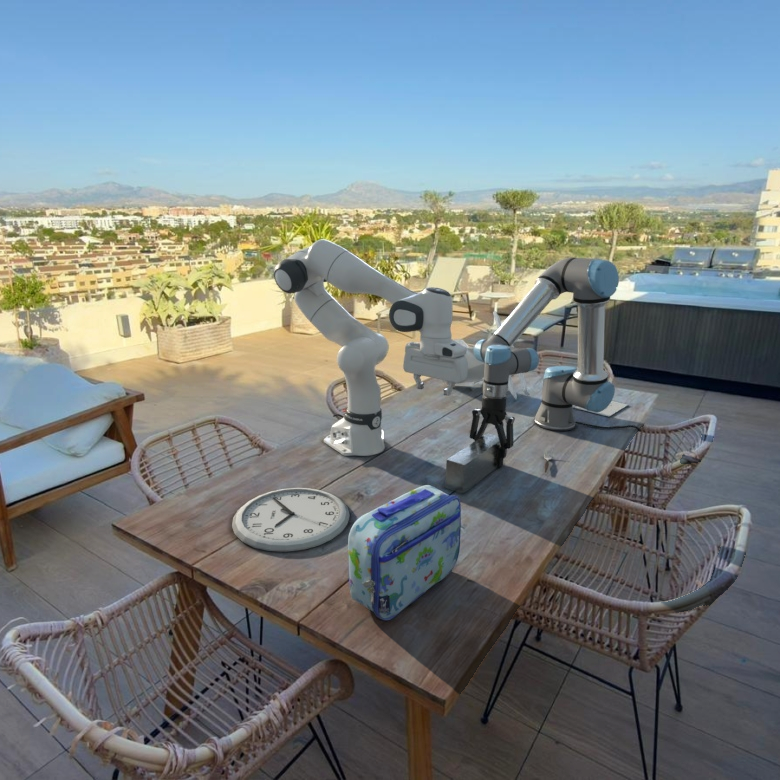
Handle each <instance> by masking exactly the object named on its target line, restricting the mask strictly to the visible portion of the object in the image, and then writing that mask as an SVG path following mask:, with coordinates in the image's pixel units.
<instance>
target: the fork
mask: <svg viewBox="0 0 780 780" xmlns="http://www.w3.org/2000/svg"><path fill="white" fill-rule="evenodd" d="M553 451H554V450H553V448H552V451H551V449H549V451H547V450H545V452H544V455H543V459H545V460H546V461H545V463H544V473H547V470H548V468H549V461H551V460H553Z"/></svg>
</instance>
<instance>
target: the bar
mask: <svg viewBox="0 0 780 780" xmlns="http://www.w3.org/2000/svg"><path fill="white" fill-rule="evenodd" d="M500 447H501V445H500V441H499V437H498V435H496V434H492V433H488V432H487V433H486V434H483V436H482V437H481V438H479V439H478V440H476V441H473V442H472V443H470V444H468V445H467V446H465V447H463V448H462V449H461V450H459V451H457V452H455V453H454V454H453V455H451V456H450V457H448V458H447V459H446V463H445V464H446V465H445V480H444V481H445V482H444V483H445V484H444V488H445V489H447V490H449V491H453V492H455V493H458V494H461V495H464V494H465V493H466V492H467V491H469V490H470V489H472V488H473V487H474V486H476V485H477V484H478V483H479V482H481V481H482V480H483V479H484V478H486V477H487V476H488V475H490V474H491V473H492V472H493V471H495V470H496V469H498V468H497V462H498V450H499V448H500Z"/></svg>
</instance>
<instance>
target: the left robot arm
mask: <svg viewBox="0 0 780 780" xmlns="http://www.w3.org/2000/svg"><path fill="white" fill-rule="evenodd" d="M273 278H274V281H275V283H276V285H277V287H278V288H279V289H280V290H281V291H283V292H284V293H286V294H289V295H291V294H293V295H294V296H293V300H294V302H295V304H296V306H297V307H298V309H299V310H300V312H301V313H302V314H303V315H304V317H305V318H306V320H307V321H309V323H311V325H312V326H314V327H315V328H316V330H317V331H319V333H320V334H321V335H322V336H323V337H324V338H325V339H327V340H328V341H330V342H333V343H335V344H337V345H339V346H341V348H340V349H339V351H338V352H337V355H336V363H337V366H338V368H339V369H340V371H341V372H342V373H343V376H344V379H345V383H346V384H345V385H346V389H347V390H346V391H347V394H346V395H347V407H345V408H342V409H341V410H342V411H341V413H344V415H342V414H341V413H334V414H333V415H332V417H333V418H335V417H340V419H339V420H337V421H336V422H335V423H333V424H332V425H331V428H330V434H329V435H326V437H324V439H323V443H324V444H326V446H329V447H330V448H331V449H333V450H335V451H336V452H338V454H341V456H344V457H351V456H358V457H359V456H360V457H368V456H374V455H377V454H380V453H382V452H383V451H384V450H385V449H386V447H385V438H384V430H383V426H382V420H383V411H382V407H381V398H382V397H381V396H382V395H381V393H382V390H381V389H382V388H381V386H380V384H379V382H378V379H377V374H376V368H377V366H378V365H379V364H381V363H382V362H383V361H385V359H386V357H387V356H388V354H389V351H390V345H389V341H388V340H387V338H386V337H385V335H383V334H381V333H379V332H376V331H374V330H372V329H371V328H369V327H368V326H367V325H366V324H364V323H362V322H361V321H359V320H358V319H356V318H355V317H354V316H353V315H352V314H351V313H349V312H348V310H347V309H346V308H344V307H343V305H342V304H340V302H338V300H336V298H334V297H333V296H332V295H331V294H330V293H329V292H328V291H327V290H326V288H325V283H327V282H328V283H329V284H330V285H331V286H333V287H334V288H336V289H338V290H341V291H343V292H345V293H347V294H364V295H365V294H366V295H373V296H377V297H380V298H382V299H383V300H385V301H386V302H389V303H390V304H391V306H390V308H389V311H388V319H389V322H390V324H391V326H392V327H393V328H394V329H395V330H396V331H397V332H401V333H411V332H419V333H420V338H419V342H415V341H409V342H407V343H406V345H405V348H404V358H403V365H402V368H403V371H404V372H405V373H409V374H413V379H414V381H415V383H416V389H417V390H424V387H425V386H424V385H425V382H422V379H421V377H426V378H431V379H436V380H440V381H442V380H445V381H447V384H448V385H447V387H446V388H444V389H443V395H444V396H447V397H450V396H451V395H452V389H453V388H454V386H455V385H456V384H455V383H459V384H463V383H462V382H464V381H465V380H466V379H467V377H468V362H467V358H466V357H465V356H464V354H466V352H467V348H466V347H465V346H463V345H461V344H459V343H457V342H455V341H454V339H453V338H452V337H453V336H452V330H451V326H452V323H453V316H454V315H453V310H454V309H453V297H452V295H451V293H450V292H449V291H448V290H446V289H444V288H440V287H432V286H430V287H428V286H427V287H425V288H424V289H423V290H421V291H420V292H416V291H413V290H411V289H410V288H407V287H405V286H404V285H402V284H401V283H399V282H397V281H395V280H394V279H392V278H391V277H389V276H387V275H386V274H384V273H381V272H380V271H378V270H377V269H375V268H373V267H372V266H371V265H369V264H368V263H366V262H365V261H364V260H362V259H361V258H359V257H358V256H357V255H356V254H353V253H352V252H351V251H349V250H347V249H346V248H344V247H343V246H341V245H338V244H337V243H335V242H333V241H330V240H328V239H323V238H322V239H318V240H315V241H314V242H313V243H312V244H311V245H310V246H308V247H304V248H302V249H299V250H297V251H296V252H294V253H293V254H292V255H290V256H288V257H286V258H283V259H282V260H280V261H279V262H278V263H277V264H276V266H275V267H274V269H273Z"/></svg>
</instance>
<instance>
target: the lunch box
mask: <svg viewBox="0 0 780 780" xmlns="http://www.w3.org/2000/svg"><path fill="white" fill-rule="evenodd" d="M461 520H462V506H461V500H460V498H459V497H458V496H457V495H454V494H450V495H449V494H448V493H445V492H444V491H442V490H440V489H438V488H436V487H435V486H432V485H430V484H425V485H420V486H418V487H416V488H415V489H412V490H410V491H408V492H406V493H404V494H402V495H400V496H398V497H396V498H394V499H392V500H390V501H388V502H386V503H384V504H382V505H380V506H378V507H377V508H375V509H372V510H371V511H368V512H367V513H365V514H362V515H361V516H359V517H357V519H356V520H355V521H354V523H353V524H352V526H351V528H350V530H349V533H348V536H347V537H348V538H347V557H348V559H347V560H348V586H349V592H350V597H351V599H352V600H353V601H355V602H356V603H358V604H360V605H362V606H364V607H365V608H366V609H368V610H369V611H371V612H372V613H374V615H375V616H376V617H377V618H379V619H380V620H383V621H390V620H393V619H394V618H395V617H397V616H398V615H399V614H400V613H401V612H402V611H403V610H405V609H406V608H407V607H408V606H409V605H411V604H412V603H414V602H415V601H416V600H417V599H419V598H420V597H421V596H422V595H424V594H425V593H426V592H427V591H429V589H431V588H432V587H433V586H435V585H436V584H438V583H439V582H440V581H442V580H444V579H445V578H446V577H448V575H450V573H451V572H452V571H453V570H454V568H455V566H456V564H457V562H458V559H459V555H460V552H461V551H460V549H461V535H462V534H461V533H462V521H461Z"/></svg>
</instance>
